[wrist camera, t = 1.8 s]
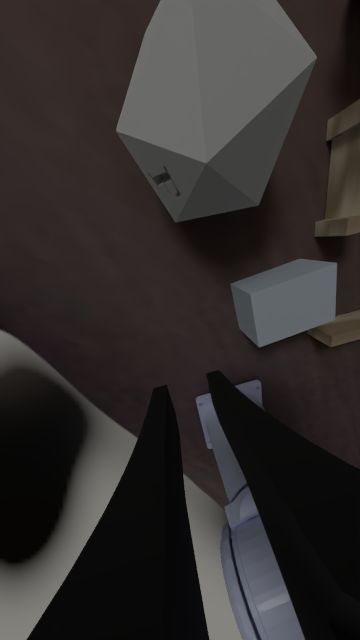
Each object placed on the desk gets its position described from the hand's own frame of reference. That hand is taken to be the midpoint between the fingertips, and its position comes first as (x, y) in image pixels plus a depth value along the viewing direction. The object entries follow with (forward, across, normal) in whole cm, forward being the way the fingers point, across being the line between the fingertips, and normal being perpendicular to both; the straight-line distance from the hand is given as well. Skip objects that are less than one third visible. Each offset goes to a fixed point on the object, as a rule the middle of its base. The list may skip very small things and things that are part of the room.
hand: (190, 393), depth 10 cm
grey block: (+10, -10, 0) cm, 14 cm away
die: (+10, -4, -12) cm, 16 cm away
